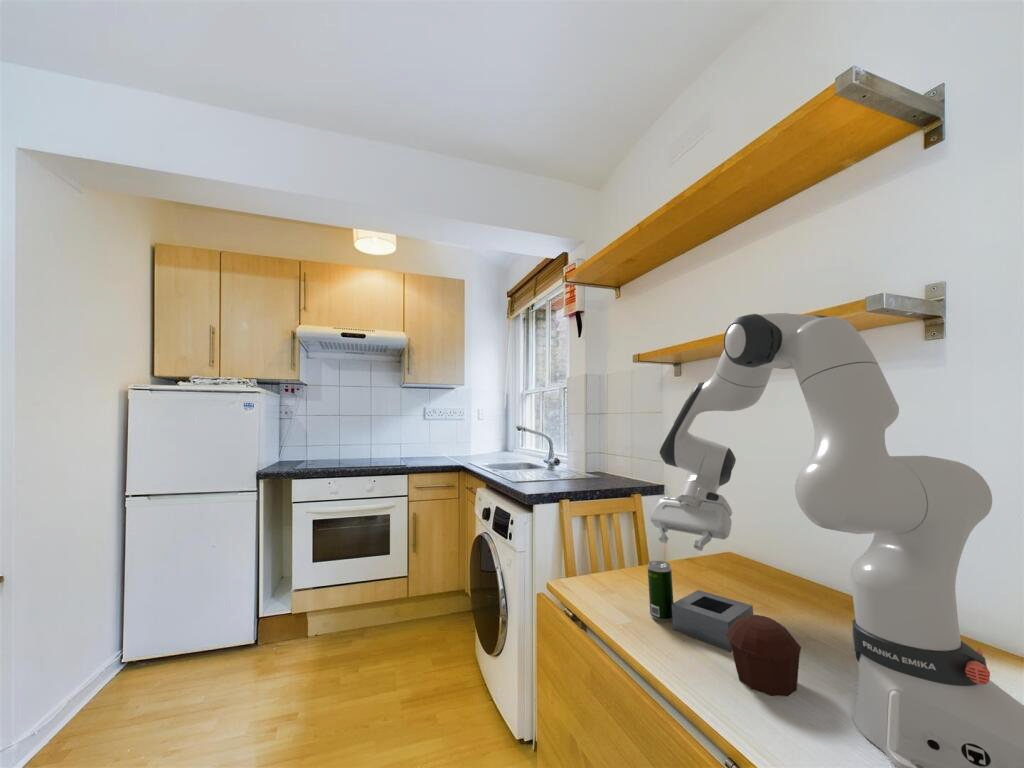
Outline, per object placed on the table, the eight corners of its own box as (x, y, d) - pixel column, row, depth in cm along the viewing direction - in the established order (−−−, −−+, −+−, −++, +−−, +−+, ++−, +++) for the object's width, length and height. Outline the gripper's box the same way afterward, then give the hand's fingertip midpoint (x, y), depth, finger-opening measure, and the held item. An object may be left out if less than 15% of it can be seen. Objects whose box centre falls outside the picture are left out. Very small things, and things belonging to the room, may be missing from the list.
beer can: (668, 624, 93) (664, 569, 94) (646, 617, 97) (643, 564, 98) (678, 617, 96) (675, 563, 98) (657, 610, 100) (654, 559, 102)
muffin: (737, 655, 80) (733, 601, 81) (807, 676, 73) (801, 616, 74) (722, 685, 70) (718, 623, 72) (801, 712, 64) (794, 643, 65)
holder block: (754, 632, 88) (752, 605, 89) (730, 652, 81) (728, 622, 82) (699, 614, 98) (698, 589, 98) (673, 630, 90) (671, 603, 91)
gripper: (655, 489, 118) (638, 530, 111) (729, 497, 102) (714, 545, 95) (665, 503, 120) (648, 544, 113) (739, 513, 105) (725, 561, 97)
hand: (679, 545), depth 104 cm, fingers open, 8 cm apart
